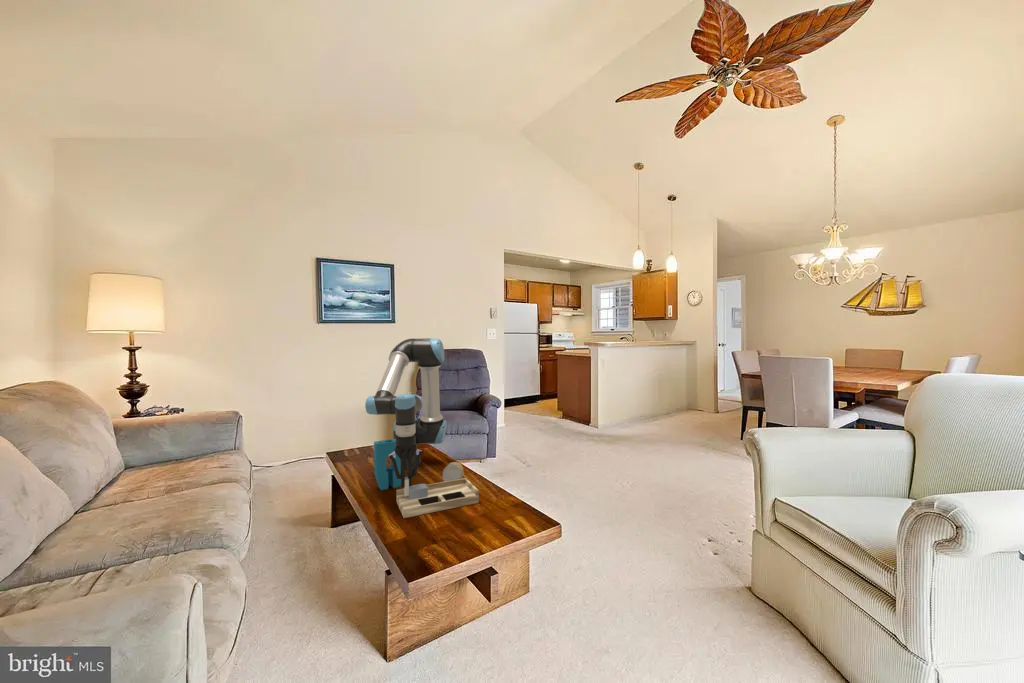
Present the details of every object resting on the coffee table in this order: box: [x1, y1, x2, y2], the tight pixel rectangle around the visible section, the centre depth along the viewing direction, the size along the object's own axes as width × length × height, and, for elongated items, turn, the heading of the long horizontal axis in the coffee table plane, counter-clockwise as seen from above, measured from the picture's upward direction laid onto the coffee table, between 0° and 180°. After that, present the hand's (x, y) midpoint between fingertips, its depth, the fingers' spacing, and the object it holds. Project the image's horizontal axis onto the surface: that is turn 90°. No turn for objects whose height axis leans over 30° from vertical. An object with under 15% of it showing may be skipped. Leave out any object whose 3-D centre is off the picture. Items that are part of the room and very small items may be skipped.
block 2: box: [373, 438, 401, 491], centre depth 172 cm, size 12×5×20 cm, turn 119°
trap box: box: [396, 477, 480, 519], centre depth 155 cm, size 15×29×5 cm, turn 116°
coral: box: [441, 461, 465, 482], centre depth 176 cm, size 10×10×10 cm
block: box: [408, 482, 428, 500], centre depth 155 cm, size 5×7×4 cm
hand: (406, 494), depth 153 cm, fingers closed
